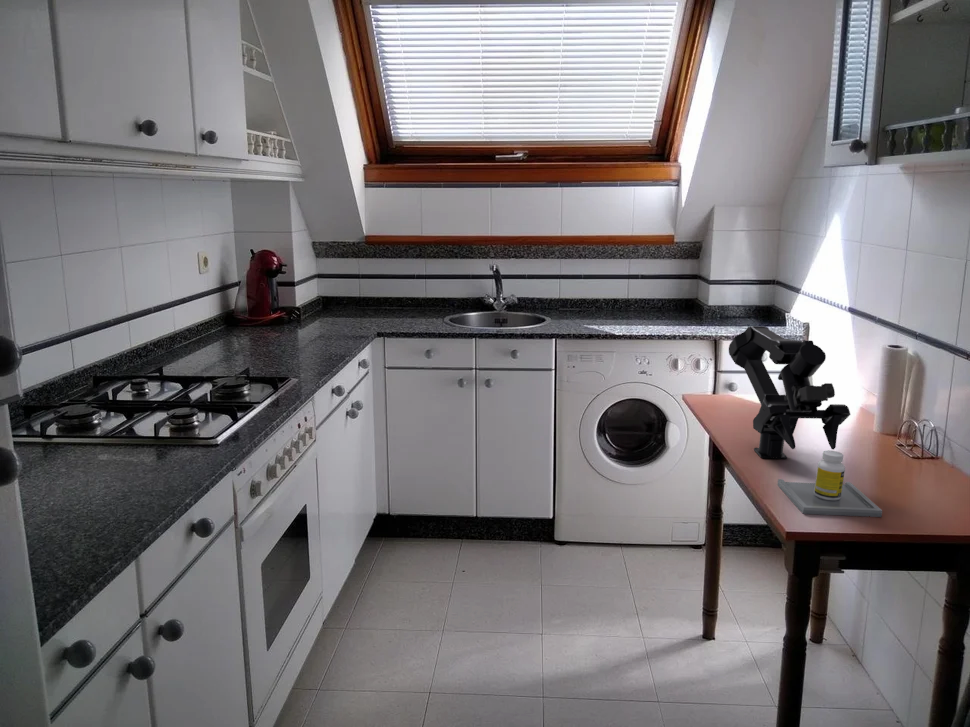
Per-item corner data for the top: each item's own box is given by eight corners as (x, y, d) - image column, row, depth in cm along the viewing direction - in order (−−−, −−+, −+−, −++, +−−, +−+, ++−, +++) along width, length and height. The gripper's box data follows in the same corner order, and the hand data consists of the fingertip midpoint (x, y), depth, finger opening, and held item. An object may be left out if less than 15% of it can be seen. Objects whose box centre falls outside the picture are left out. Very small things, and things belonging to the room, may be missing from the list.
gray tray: (777, 484, 179) (778, 479, 179) (849, 487, 179) (849, 482, 179) (802, 513, 164) (803, 507, 163) (881, 517, 163) (882, 510, 163)
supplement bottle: (842, 502, 168) (848, 458, 166) (814, 499, 170) (820, 455, 167) (839, 493, 173) (845, 451, 171) (812, 490, 175) (818, 447, 172)
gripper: (772, 369, 178) (787, 432, 170) (852, 370, 179) (871, 432, 171) (754, 393, 187) (768, 454, 179) (830, 394, 189) (847, 454, 181)
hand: (813, 448), depth 177 cm, fingers open, 9 cm apart
